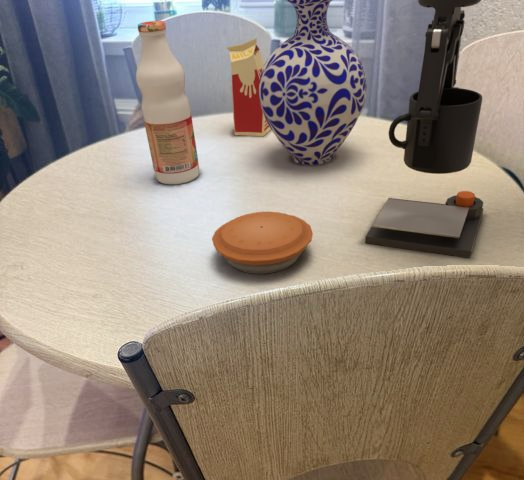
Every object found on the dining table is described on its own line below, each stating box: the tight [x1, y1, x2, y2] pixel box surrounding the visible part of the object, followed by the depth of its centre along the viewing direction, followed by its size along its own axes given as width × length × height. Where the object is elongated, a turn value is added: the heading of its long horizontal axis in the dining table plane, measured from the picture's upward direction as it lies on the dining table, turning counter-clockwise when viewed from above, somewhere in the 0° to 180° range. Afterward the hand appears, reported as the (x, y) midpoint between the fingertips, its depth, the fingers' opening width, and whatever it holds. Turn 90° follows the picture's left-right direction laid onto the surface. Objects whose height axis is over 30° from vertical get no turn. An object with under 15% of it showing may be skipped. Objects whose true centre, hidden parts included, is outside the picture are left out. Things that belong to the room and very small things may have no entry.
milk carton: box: [225, 37, 271, 137], centre depth 126 cm, size 9×9×20 cm
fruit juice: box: [135, 20, 200, 185], centre depth 103 cm, size 9×9×28 cm
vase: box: [259, 0, 368, 166], centre depth 106 cm, size 22×22×30 cm
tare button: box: [455, 190, 476, 207], centre depth 87 cm, size 3×3×2 cm
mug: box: [388, 87, 483, 175], centre depth 75 cm, size 9×12×9 cm
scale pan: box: [371, 198, 469, 238], centre depth 84 cm, size 13×10×1 cm
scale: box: [364, 194, 484, 259], centre depth 86 cm, size 16×15×3 cm
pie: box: [211, 211, 314, 275], centre depth 83 cm, size 15×16×5 cm
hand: (429, 154), depth 77 cm, fingers closed on mug, 9 cm apart
